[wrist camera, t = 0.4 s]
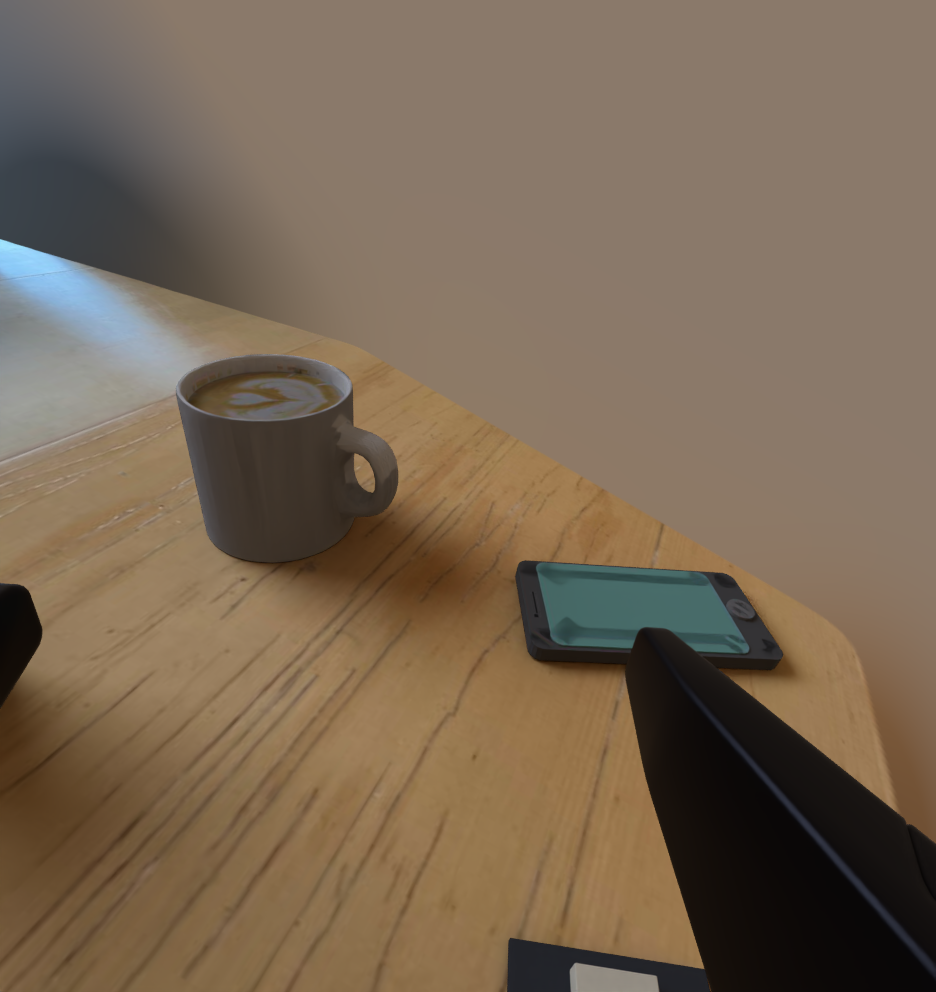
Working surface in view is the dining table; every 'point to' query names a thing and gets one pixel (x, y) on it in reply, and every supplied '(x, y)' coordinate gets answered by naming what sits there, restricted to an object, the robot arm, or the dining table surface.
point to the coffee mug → (279, 455)
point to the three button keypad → (593, 971)
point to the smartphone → (638, 613)
